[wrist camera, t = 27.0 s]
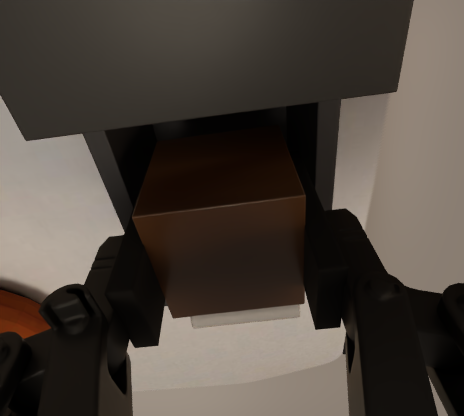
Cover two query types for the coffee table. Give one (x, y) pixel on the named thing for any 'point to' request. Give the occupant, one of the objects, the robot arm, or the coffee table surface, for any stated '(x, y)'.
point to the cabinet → (189, 58)
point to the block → (224, 222)
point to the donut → (20, 315)
